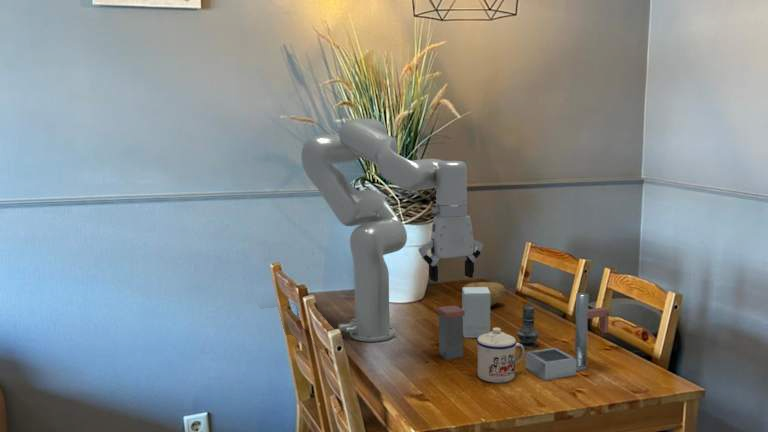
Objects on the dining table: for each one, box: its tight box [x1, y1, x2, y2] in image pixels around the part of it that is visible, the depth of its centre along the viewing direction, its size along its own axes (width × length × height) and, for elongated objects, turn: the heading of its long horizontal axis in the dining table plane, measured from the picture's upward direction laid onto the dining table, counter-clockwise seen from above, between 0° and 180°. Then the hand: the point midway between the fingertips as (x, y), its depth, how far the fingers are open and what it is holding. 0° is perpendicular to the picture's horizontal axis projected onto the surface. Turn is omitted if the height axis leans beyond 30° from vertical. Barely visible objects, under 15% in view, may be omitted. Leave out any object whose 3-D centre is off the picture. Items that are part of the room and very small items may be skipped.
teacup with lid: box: [476, 327, 525, 384], centre depth 166 cm, size 12×9×12 cm
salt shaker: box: [516, 301, 540, 350], centre depth 187 cm, size 6×6×12 cm
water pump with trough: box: [524, 292, 610, 381], centre depth 170 cm, size 20×8×18 cm, turn 111°
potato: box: [463, 281, 506, 307], centre depth 224 cm, size 10×14×8 cm
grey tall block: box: [436, 305, 465, 360], centre depth 180 cm, size 5×5×12 cm
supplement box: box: [461, 286, 491, 339], centre depth 197 cm, size 7×7×13 cm
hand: (451, 278), depth 178 cm, fingers open, 9 cm apart
